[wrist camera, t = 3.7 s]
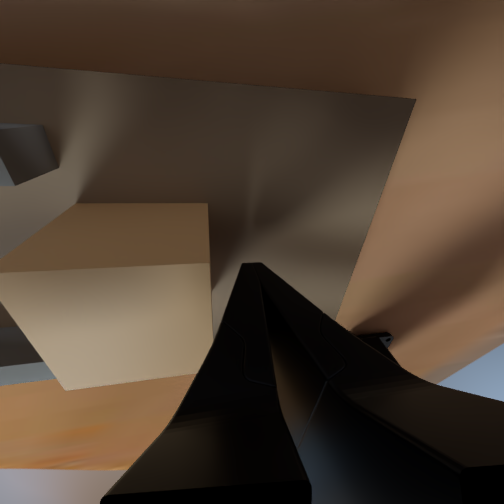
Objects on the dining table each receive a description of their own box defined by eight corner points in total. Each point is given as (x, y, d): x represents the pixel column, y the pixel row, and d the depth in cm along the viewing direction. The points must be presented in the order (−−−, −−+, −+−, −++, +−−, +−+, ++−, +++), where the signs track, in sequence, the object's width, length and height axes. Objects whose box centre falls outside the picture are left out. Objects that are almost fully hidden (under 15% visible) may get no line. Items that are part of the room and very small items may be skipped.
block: (211, 291, 11) (214, 370, 8) (110, 298, 10) (65, 390, 7) (207, 203, 9) (209, 263, 5) (75, 203, 8) (-20, 273, 4)
